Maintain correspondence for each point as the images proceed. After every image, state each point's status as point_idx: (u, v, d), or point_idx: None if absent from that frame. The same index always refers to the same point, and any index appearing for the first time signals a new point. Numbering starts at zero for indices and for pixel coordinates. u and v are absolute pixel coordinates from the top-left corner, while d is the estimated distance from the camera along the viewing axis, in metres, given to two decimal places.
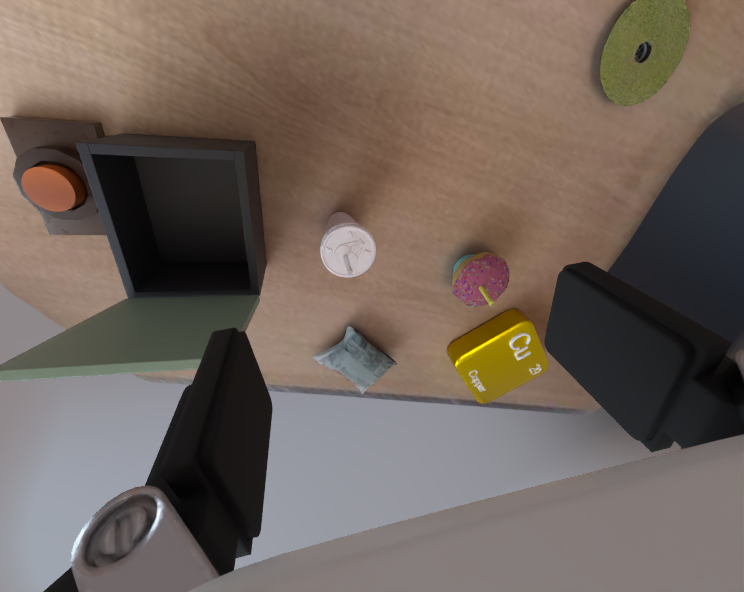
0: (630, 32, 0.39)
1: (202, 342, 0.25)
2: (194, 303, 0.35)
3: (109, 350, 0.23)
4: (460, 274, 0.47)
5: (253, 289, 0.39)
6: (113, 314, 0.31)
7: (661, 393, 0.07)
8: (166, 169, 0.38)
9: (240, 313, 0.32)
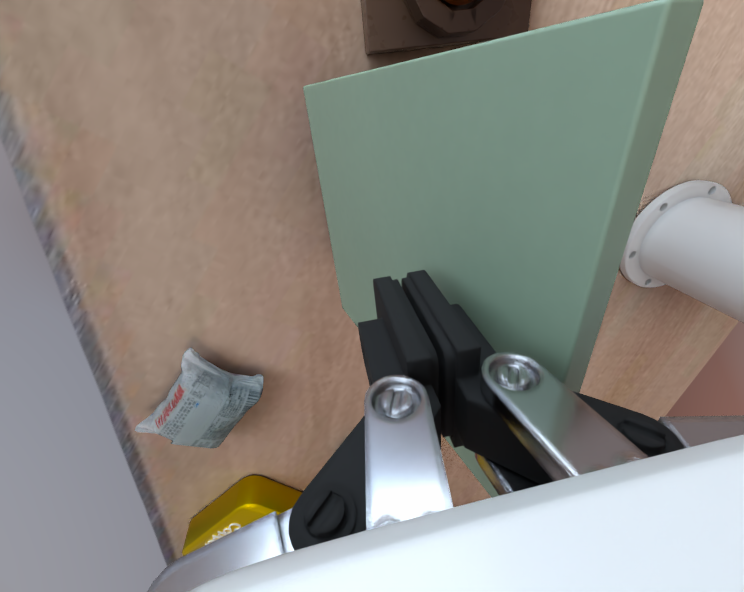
0: None
1: None
2: None
3: None
4: None
5: None
6: None
7: (445, 393, 0.08)
8: None
9: None
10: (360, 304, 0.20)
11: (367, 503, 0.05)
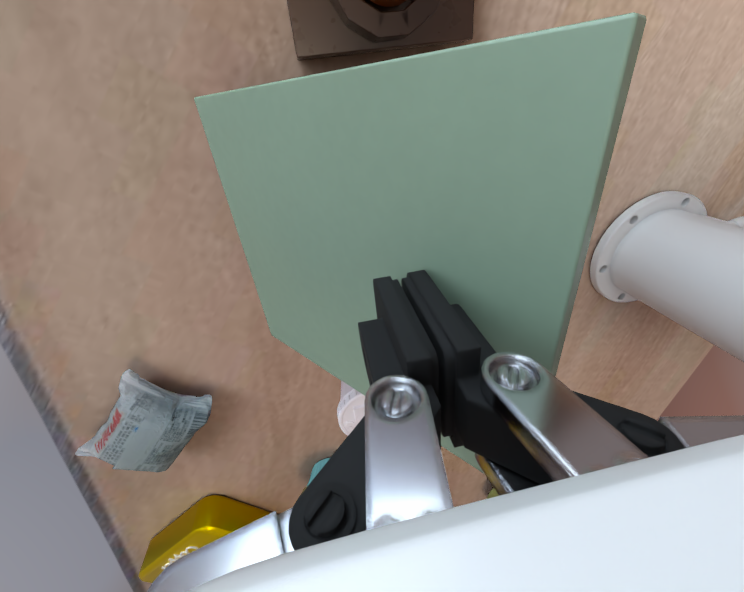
0: None
1: None
2: None
3: None
4: None
5: None
6: None
7: (445, 393, 0.08)
8: None
9: None
10: (299, 325, 0.18)
11: (367, 503, 0.05)
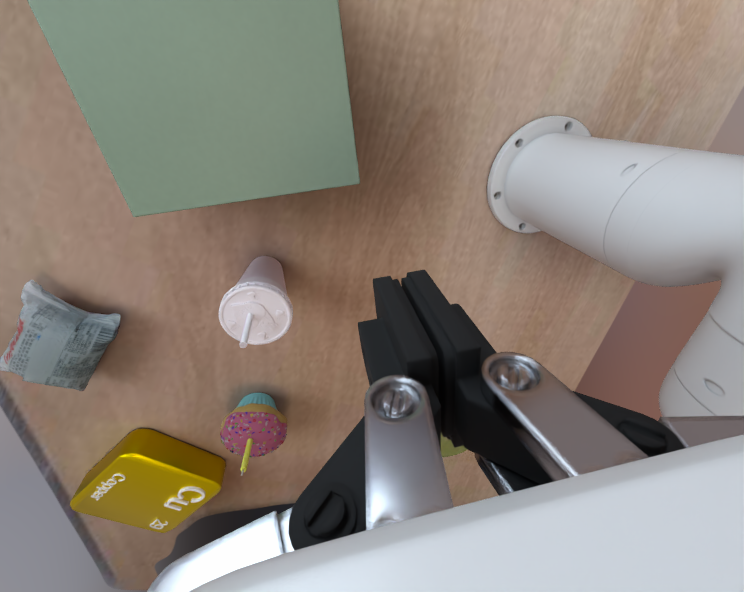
0: None
1: None
2: None
3: None
4: (256, 413, 0.42)
5: None
6: None
7: (445, 393, 0.08)
8: None
9: None
10: (177, 172, 0.23)
11: (367, 503, 0.05)
